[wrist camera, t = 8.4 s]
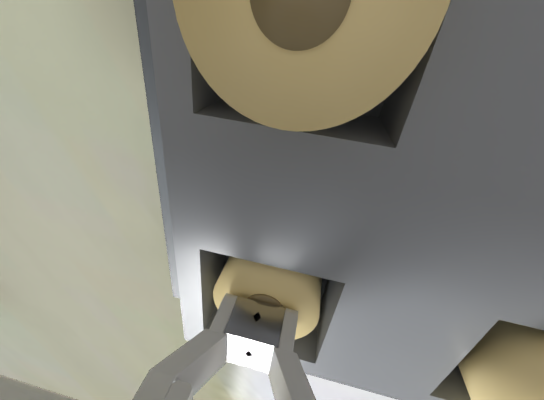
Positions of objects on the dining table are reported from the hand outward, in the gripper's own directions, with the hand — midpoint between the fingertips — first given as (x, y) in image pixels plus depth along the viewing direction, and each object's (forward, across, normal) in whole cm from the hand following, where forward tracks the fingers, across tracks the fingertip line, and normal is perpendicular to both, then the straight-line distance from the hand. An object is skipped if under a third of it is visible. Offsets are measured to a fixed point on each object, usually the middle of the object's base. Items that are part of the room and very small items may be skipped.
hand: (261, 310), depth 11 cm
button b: (+2, 0, 0) cm, 3 cm away
